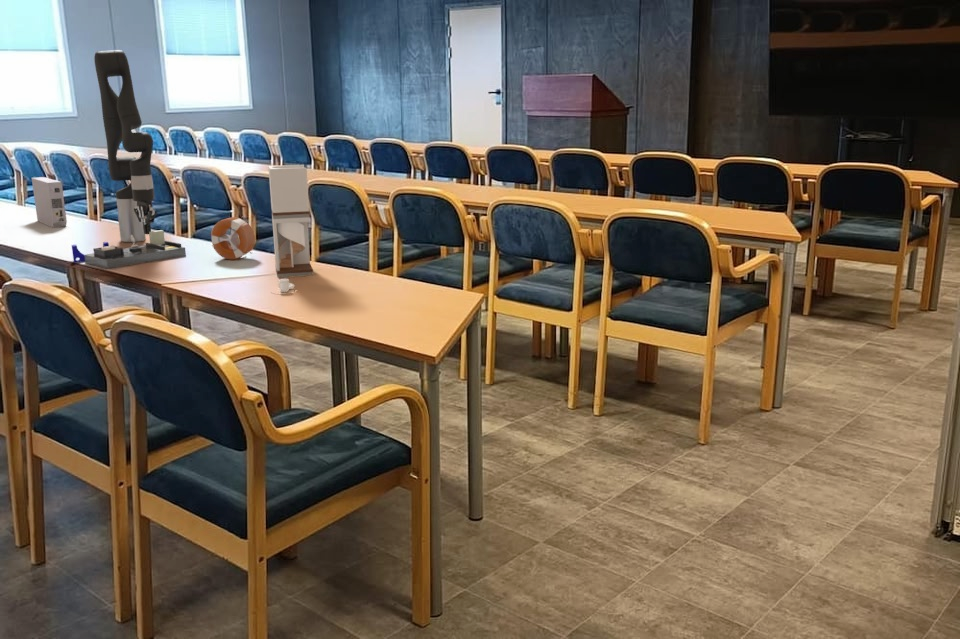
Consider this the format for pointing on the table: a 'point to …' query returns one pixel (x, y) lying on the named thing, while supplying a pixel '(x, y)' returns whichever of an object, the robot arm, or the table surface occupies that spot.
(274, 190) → the spiral ramp tower
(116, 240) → the table surface
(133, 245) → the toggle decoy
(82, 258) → the cable clip
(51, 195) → the game console
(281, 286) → the teacup and saucer
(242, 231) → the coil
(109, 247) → the button
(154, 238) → the pale green eraser block
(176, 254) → the panel
